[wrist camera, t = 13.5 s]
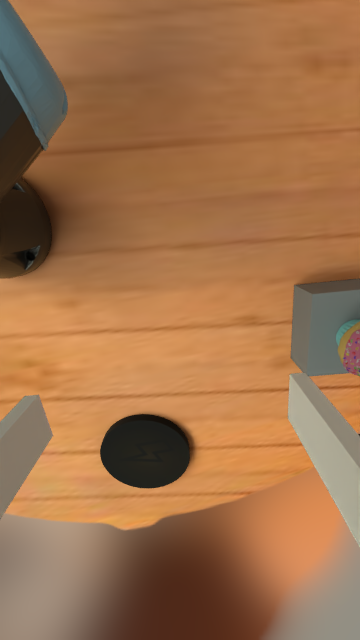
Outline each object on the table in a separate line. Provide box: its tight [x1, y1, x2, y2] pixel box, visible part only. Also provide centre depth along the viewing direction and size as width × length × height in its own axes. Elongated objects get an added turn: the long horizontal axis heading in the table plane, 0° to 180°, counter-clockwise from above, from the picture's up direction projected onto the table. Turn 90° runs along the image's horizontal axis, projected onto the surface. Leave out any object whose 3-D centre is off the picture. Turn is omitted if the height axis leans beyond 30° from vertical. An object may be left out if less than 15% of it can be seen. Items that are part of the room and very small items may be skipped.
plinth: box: [291, 279, 360, 376], centre depth 39 cm, size 13×13×6 cm
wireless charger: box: [100, 414, 190, 488], centre depth 51 cm, size 18×18×2 cm
